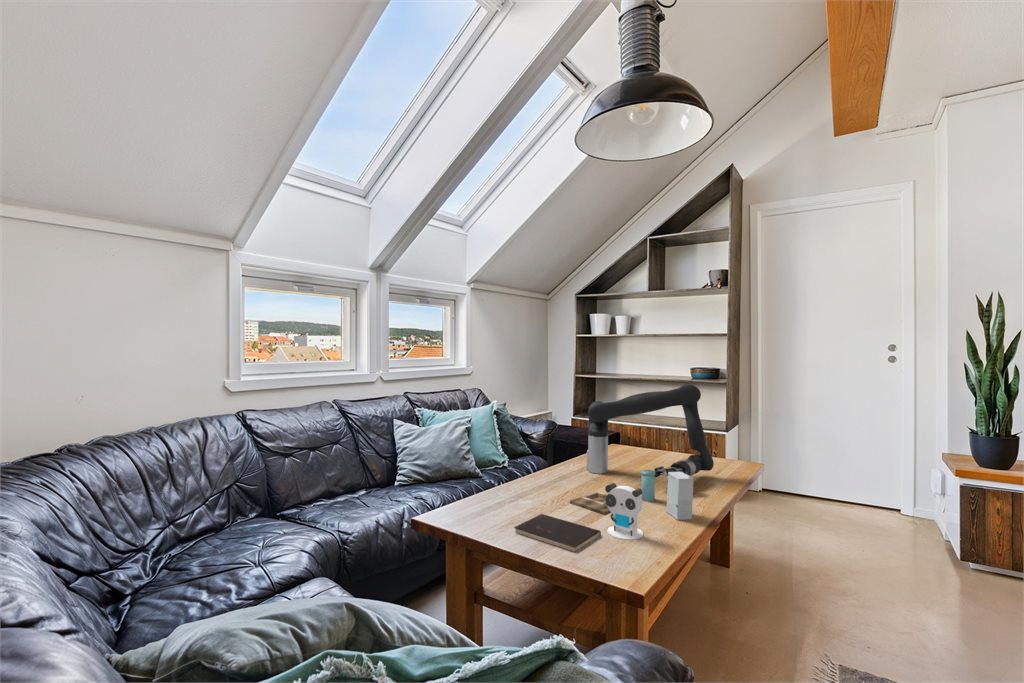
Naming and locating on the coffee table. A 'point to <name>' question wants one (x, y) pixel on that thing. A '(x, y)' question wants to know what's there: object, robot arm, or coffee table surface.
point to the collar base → (593, 502)
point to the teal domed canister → (648, 485)
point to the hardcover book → (558, 532)
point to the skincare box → (679, 495)
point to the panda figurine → (624, 511)
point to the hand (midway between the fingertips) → (663, 477)
